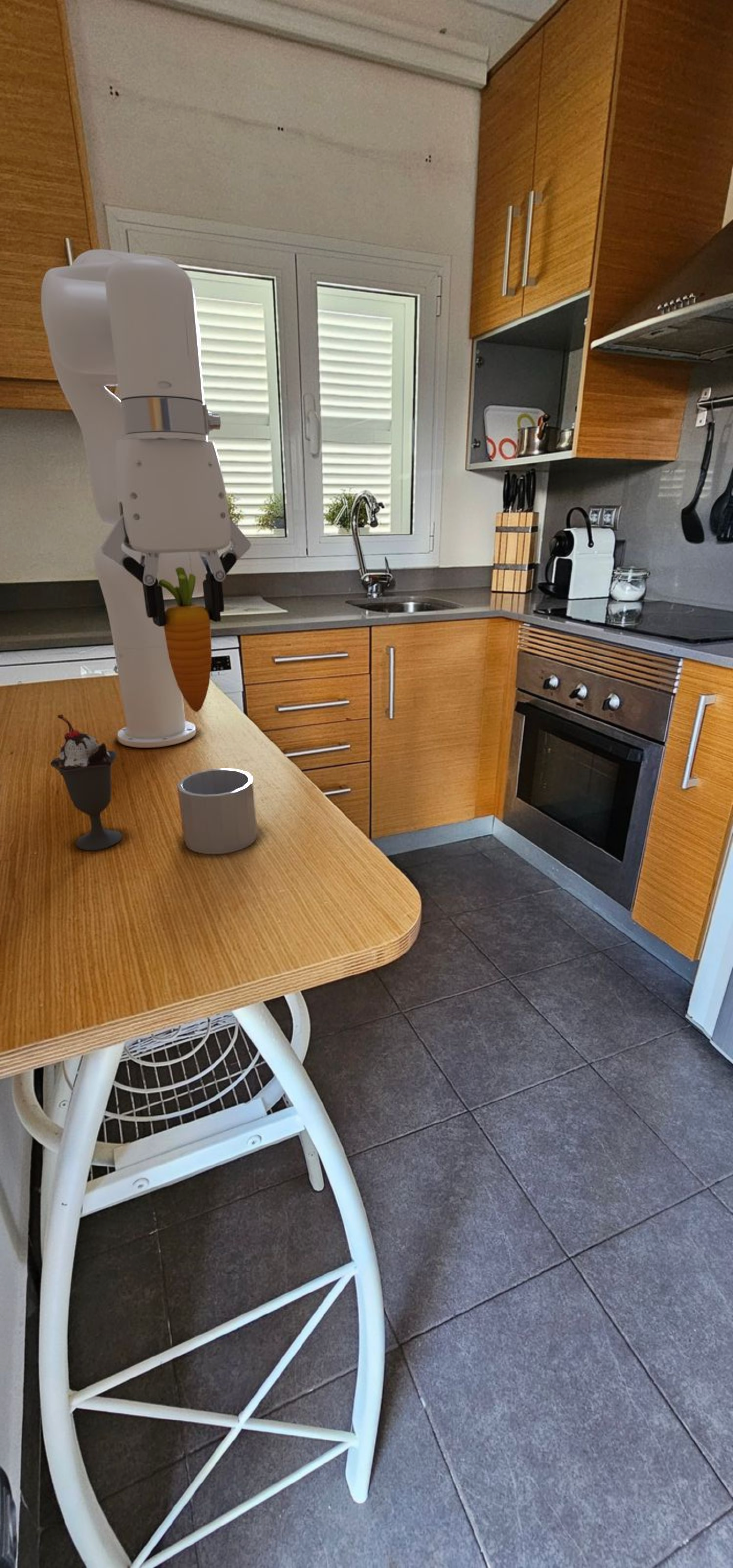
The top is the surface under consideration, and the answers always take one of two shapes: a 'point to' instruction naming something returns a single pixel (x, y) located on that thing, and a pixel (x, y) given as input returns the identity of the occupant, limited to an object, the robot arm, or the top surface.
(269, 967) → the top surface
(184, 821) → the gray cup
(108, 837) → the sundae
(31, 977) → the top surface
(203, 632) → the carrot
